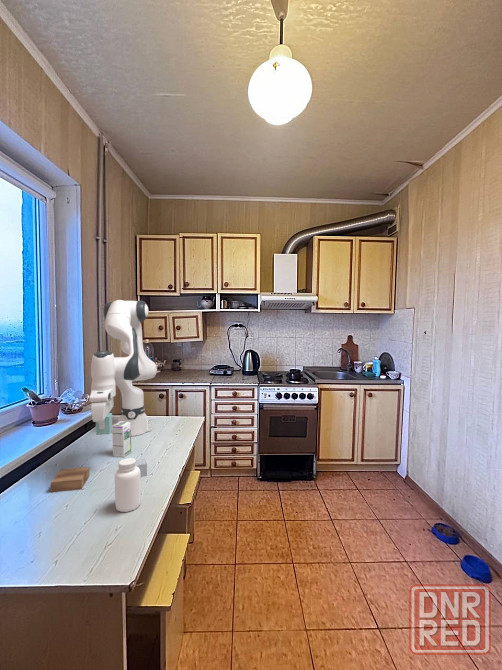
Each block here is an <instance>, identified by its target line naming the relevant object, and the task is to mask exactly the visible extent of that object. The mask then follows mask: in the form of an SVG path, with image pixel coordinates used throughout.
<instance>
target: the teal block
mask: <svg viewBox="0 0 502 670" xmlns="http://www.w3.org/2000/svg"><path fill="white" fill-rule="evenodd" d="M104 422H105V428H104V429H99V423H98V422H95V435H96V436H98V435H99V436H102V435H110V434H112V425H113V412H110V413H109V414H108V415H107V417H106V418H105V420H104Z"/></svg>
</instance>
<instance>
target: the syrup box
mask: <svg viewBox="0 0 502 670" xmlns="http://www.w3.org/2000/svg"><path fill="white" fill-rule="evenodd" d="M111 434H112V435H111V437H112V456H113V457H115V458H125V457H126V456H127V455H128V456H129V455H130V454H131V453H132V439H131V438H132V436H131V425H130V422H127V421H120V422H116V423H114V424H112V431H111Z"/></svg>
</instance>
